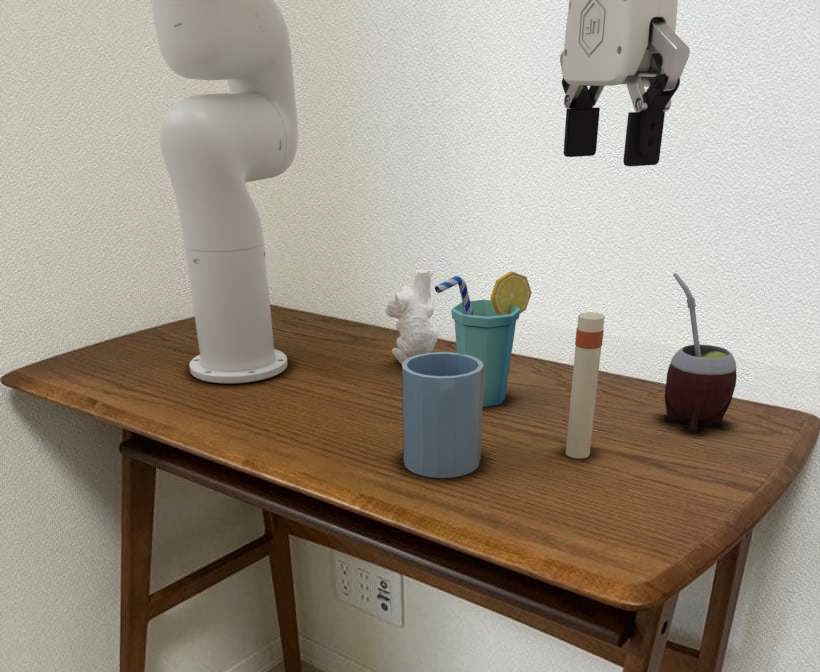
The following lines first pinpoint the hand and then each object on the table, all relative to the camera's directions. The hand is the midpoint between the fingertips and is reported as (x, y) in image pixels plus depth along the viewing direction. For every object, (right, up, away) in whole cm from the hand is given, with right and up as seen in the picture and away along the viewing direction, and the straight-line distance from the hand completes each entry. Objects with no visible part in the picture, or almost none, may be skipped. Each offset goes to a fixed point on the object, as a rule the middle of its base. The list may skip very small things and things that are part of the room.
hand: (608, 160), depth 73 cm
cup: (-10, -18, +24) cm, 31 cm away
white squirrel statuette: (-17, -11, +35) cm, 41 cm away
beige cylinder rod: (-1, -25, +10) cm, 27 cm away
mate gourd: (+13, -21, +17) cm, 30 cm away
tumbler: (-15, -26, +9) cm, 31 cm away
